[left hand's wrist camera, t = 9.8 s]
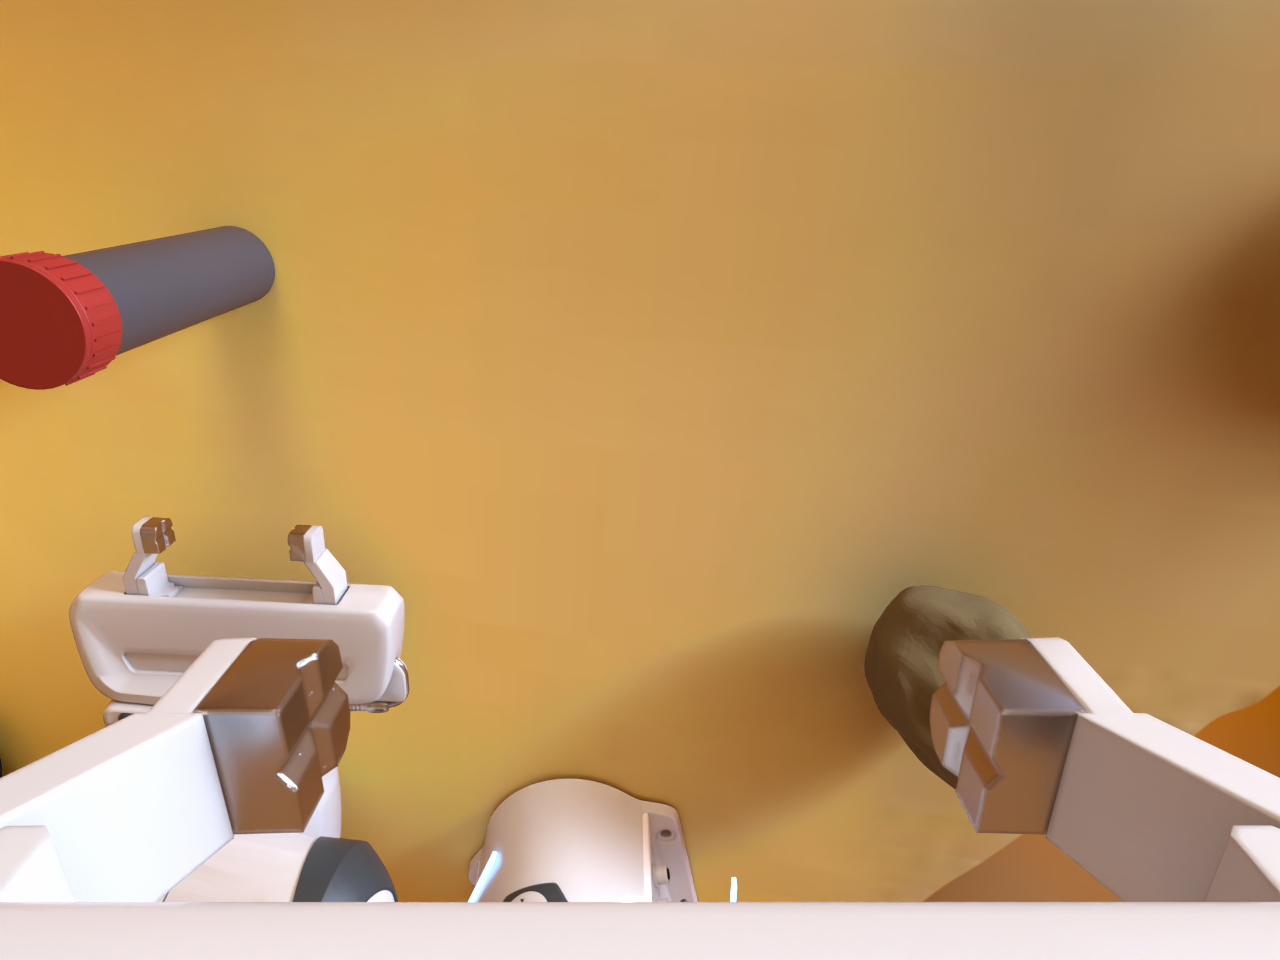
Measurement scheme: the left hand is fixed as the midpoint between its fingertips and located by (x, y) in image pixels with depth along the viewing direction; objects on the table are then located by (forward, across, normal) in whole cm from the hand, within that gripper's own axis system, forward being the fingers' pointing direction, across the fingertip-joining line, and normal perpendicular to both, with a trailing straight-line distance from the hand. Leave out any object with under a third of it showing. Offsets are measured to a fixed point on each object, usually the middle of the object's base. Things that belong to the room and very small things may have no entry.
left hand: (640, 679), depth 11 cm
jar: (+39, +24, -1) cm, 46 cm away
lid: (+22, +24, -1) cm, 33 cm away
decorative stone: (+40, -22, +26) cm, 52 cm away
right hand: (+34, +25, +14) cm, 45 cm away
